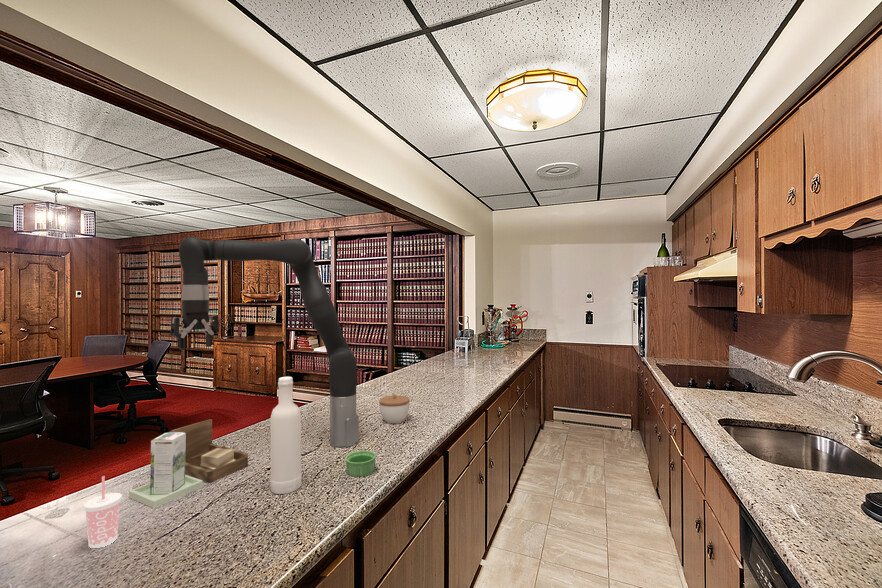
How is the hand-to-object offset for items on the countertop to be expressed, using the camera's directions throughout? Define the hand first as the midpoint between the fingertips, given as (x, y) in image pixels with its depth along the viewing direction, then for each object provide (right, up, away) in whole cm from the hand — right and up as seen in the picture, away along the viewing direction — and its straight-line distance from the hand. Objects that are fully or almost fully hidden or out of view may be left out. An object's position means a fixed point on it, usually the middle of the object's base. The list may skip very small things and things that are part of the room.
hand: (195, 348), depth 125 cm
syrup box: (+7, -35, -22) cm, 42 cm away
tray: (+7, -36, -23) cm, 43 cm away
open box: (+10, -36, -8) cm, 38 cm away
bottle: (+38, -35, -21) cm, 56 cm away
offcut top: (+13, -33, -11) cm, 37 cm away
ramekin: (+57, -36, -11) cm, 68 cm away
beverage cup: (+8, -36, -44) cm, 57 cm away
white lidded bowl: (+61, -36, +35) cm, 79 cm away
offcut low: (+14, -36, -10) cm, 40 cm away
